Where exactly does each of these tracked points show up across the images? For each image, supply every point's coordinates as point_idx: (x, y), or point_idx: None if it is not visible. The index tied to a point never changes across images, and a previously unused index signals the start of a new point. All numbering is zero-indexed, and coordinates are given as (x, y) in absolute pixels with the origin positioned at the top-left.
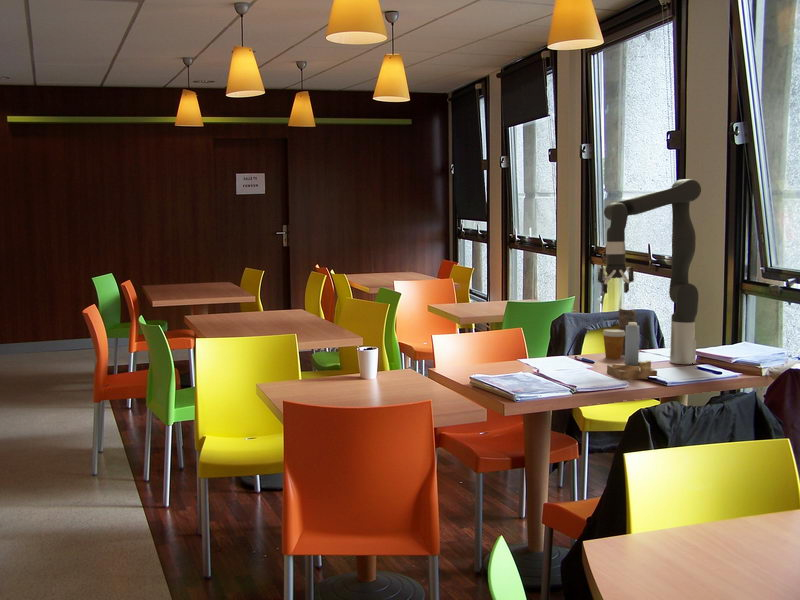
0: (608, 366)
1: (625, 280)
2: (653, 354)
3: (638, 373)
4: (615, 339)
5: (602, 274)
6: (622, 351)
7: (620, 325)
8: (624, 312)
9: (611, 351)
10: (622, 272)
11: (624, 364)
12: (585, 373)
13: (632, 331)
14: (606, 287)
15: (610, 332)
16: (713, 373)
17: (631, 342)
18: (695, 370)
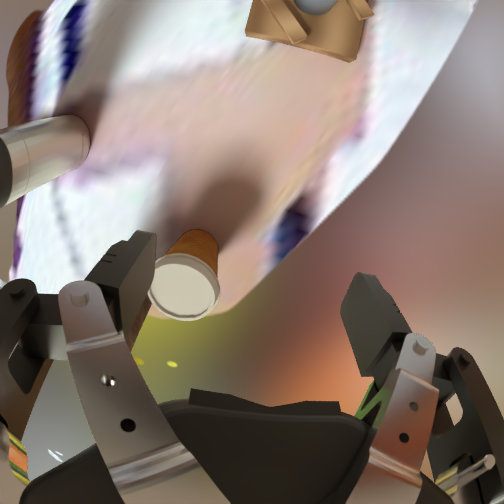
0: (357, 50)
1: (108, 323)
2: (83, 262)
3: None
4: (195, 253)
5: (489, 427)
6: None
7: (131, 338)
8: None
9: (209, 243)
10: (134, 474)
11: (305, 38)
12: (405, 82)
13: None
14: (387, 306)
15: (206, 275)
16: (87, 4)
17: None
18: (96, 38)
